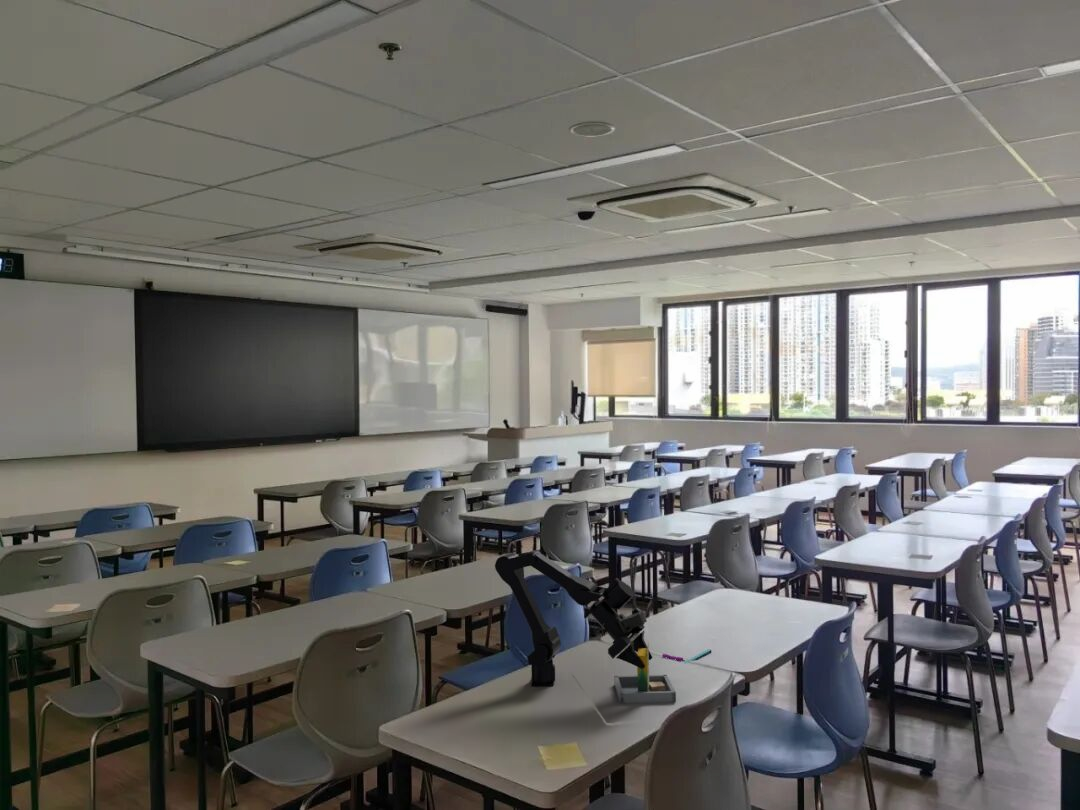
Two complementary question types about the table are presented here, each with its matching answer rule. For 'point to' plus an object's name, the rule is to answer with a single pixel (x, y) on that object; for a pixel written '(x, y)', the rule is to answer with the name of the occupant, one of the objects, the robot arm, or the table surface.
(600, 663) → the table surface
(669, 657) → the bent bar
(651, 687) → the wood tile
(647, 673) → the crayon box
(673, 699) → the tray
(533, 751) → the table surface
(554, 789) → the table surface
